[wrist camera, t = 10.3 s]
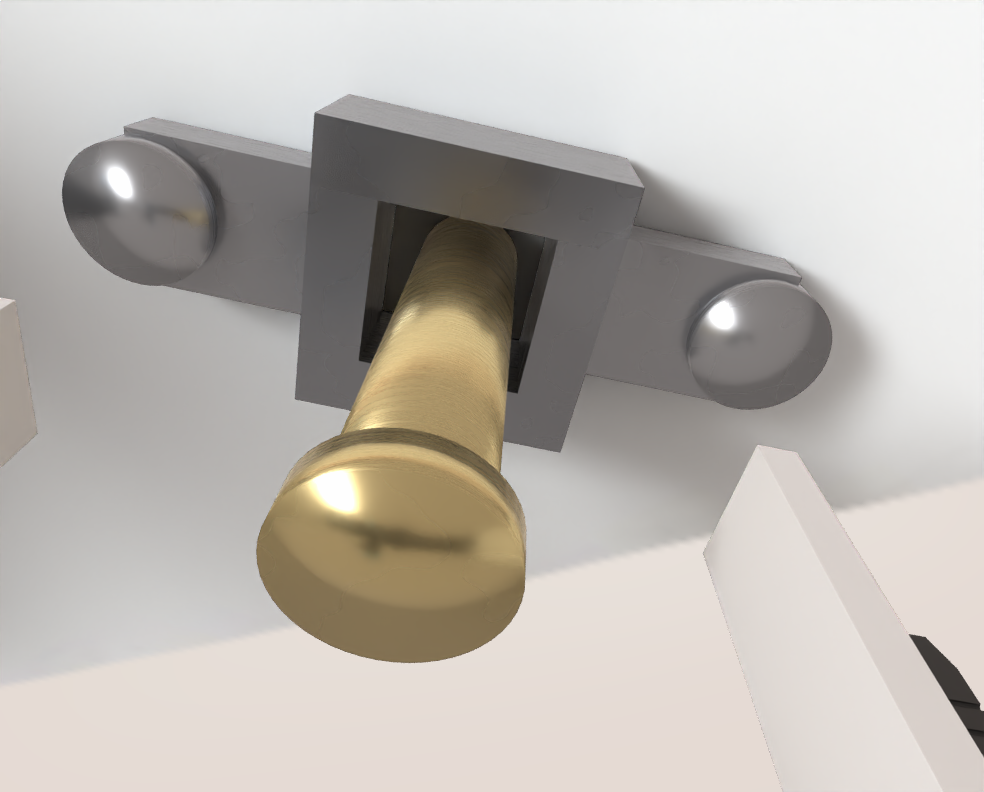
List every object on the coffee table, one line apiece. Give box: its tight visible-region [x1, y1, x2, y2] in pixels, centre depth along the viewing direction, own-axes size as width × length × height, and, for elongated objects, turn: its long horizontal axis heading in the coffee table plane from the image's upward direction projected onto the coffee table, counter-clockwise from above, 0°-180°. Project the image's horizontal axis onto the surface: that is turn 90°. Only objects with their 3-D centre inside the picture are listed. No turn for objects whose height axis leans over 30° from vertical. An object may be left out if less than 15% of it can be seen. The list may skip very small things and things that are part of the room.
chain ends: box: [62, 94, 832, 452], centre depth 20 cm, size 22×8×4 cm, turn 78°
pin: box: [256, 217, 526, 663], centre depth 16 cm, size 4×4×13 cm
